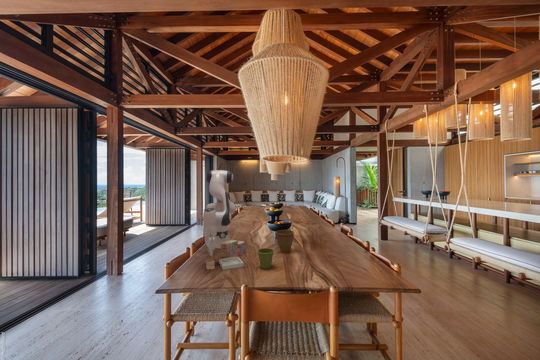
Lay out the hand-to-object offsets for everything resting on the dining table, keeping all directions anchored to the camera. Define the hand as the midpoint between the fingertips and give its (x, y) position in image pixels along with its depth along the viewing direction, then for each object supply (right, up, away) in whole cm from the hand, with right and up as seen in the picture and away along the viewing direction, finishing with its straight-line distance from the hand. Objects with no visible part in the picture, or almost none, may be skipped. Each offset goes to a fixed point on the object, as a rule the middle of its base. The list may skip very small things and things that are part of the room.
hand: (210, 253), depth 160 cm
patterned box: (+12, -10, +25) cm, 30 cm away
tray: (+13, -10, +5) cm, 17 cm away
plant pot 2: (+53, -10, +35) cm, 64 cm away
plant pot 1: (+38, -10, +1) cm, 39 cm away
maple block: (0, -10, +1) cm, 10 cm away
